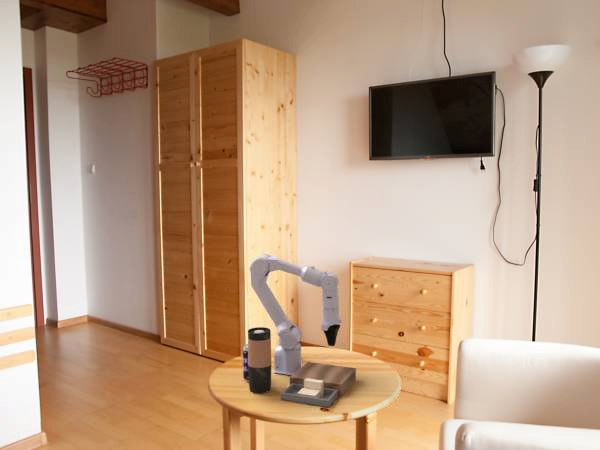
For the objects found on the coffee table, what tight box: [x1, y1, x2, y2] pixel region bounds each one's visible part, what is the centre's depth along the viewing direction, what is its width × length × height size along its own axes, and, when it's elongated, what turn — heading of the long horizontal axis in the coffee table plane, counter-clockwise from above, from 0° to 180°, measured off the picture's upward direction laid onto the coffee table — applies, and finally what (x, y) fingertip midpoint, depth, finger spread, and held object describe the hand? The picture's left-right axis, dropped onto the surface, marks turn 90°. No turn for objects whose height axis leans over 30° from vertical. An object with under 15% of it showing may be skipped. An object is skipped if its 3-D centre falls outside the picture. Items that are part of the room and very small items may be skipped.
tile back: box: [304, 378, 324, 397], centre depth 164 cm, size 6×4×2 cm
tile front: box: [297, 388, 320, 398], centre depth 161 cm, size 6×4×2 cm
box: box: [280, 383, 339, 409], centre depth 162 cm, size 16×9×2 cm, turn 67°
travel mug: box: [247, 326, 272, 395], centre depth 169 cm, size 8×8×20 cm
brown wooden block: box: [289, 361, 357, 398], centre depth 173 cm, size 18×16×4 cm
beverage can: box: [242, 343, 249, 382], centre depth 178 cm, size 6×6×12 cm
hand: (331, 345), depth 182 cm, fingers closed
